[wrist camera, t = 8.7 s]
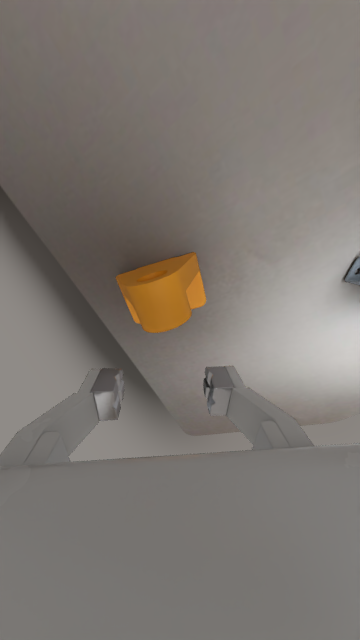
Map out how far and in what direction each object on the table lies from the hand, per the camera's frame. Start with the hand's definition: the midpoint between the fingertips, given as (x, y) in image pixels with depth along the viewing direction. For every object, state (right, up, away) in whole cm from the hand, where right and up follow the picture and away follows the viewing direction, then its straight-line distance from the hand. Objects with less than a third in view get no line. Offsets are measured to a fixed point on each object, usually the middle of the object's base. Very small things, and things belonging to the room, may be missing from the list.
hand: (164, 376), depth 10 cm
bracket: (-2, +8, +17) cm, 19 cm away
